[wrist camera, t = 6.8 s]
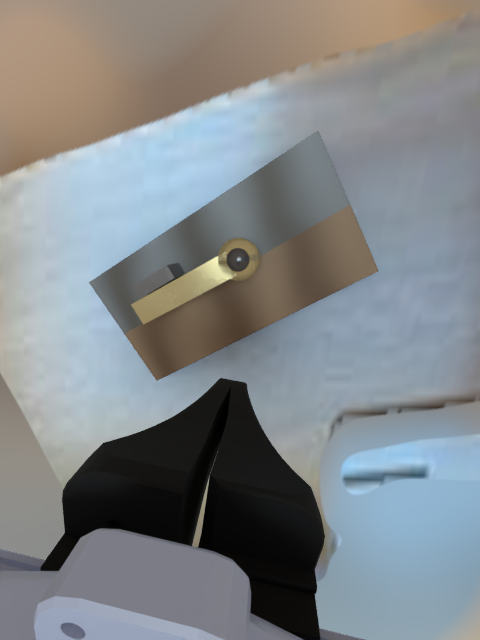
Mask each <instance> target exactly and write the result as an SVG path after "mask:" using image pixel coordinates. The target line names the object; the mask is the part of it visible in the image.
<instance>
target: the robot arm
mask: <svg viewBox="0 0 480 640" xmlns="http://www.w3.org/2000/svg"><path fill="white" fill-rule="evenodd" d="M217 452H218V453H217ZM216 455H217V456H216ZM215 458H216V459H215ZM214 461H215V462H214ZM213 464H214V465H213ZM212 466H213V468H212ZM211 469H212V471H211ZM210 472H211V473H210ZM209 475H210V479H209V486H208V493H207V500H206V506H205V513H204V520H203V527H202V534H201V538H200V542H199V546H198V548H197V547H193V546H192V543H193V539H194V535H195V530H196V526H197V522H198V518H199V514H200V509H201V505H202V501H203V497H204V493H205V489H206V485H207V482H208V478H209ZM62 503H63V514H64V525H65V534H64V535H63V536H62V538H61V539H60V541H59V542H58V543H57V545H56V546H55V548H54V549H53V551H52V552H51V553H50V555H49V556H48V557H47V559H46V560H42V559H38V558H34V557H31V556H27V555H23V554H19V553H15V552H11V551H7V550H2V549H0V640H364V639H359V638H356V637H352V636H348V635H344V634H340V633H335V632H332V631H328V630H324V629H320V628H319V625H318V616H317V609H316V602H315V594H316V591H317V583H316V576H315V567H316V565H317V562H318V559H319V556H320V553H321V551H322V548H323V544H324V538H325V535H324V529H323V524H322V519H321V515H320V512H319V509H318V506H317V503H316V500H315V497H314V494H313V491H312V489H311V487H310V486H309V485H308V484H307V483H306V482H305V481H304V480H303V479H302V478H301V477H300V476H298V475H297V474H296V473H295V472H294V471H293V470H292V469H291V468H290V466H289V465H288V464H287V463H286V462H285V461H284V460H283V459H282V457H281V456H280V455H279V453H278V452H277V451H276V450H275V448H274V447H273V446H272V444H271V443H270V441H269V439H268V438H267V436H266V435H265V433H264V431H263V429H262V428H261V426H260V424H259V422H258V419H257V417H256V415H255V413H254V410H253V407H252V405H251V402H250V399H249V395H248V390H247V384H246V383H244V382H239V381H233V380H228V379H223V378H221V379H219V380H218V381H217V382H216V383H215V384H214V385H213V386H212V387H211V388H210V389H209V390H208V391H207V392H206V393H205V394H204V395H203V396H201V397H200V398H199V399H198V400H197V401H195V402H194V403H193V404H191V405H190V406H189V407H187V408H186V409H184V410H183V411H181V412H180V413H178V414H177V415H175V416H173V417H172V418H170V419H168V420H166V421H164V422H162V423H160V424H158V425H156V426H153V427H151V428H149V429H146V430H144V431H141V432H138V433H135V434H133V435H130V436H126V437H123V438H119V439H116V440H113V441H109V442H105V443H103V444H102V445H101V446H100V447H99V448H98V449H97V450H96V451H95V452H94V453H93V454H92V455H91V456H90V457H89V458H88V459H87V460H86V461H85V462H84V464H83V465H82V466H81V467H80V468H79V469H78V471H77V472H76V473H75V474H74V475H73V476H72V478H71V479H70V480H69V481H68V482H67V484H66V486H65V488H64V490H63V497H62Z"/></svg>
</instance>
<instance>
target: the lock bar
mask: <svg viewBox="0 0 480 640" xmlns="http://www.w3.org/2000/svg"><path fill="white" fill-rule="evenodd" d="M260 259H261V256H260V252H259V249H258V247H257V246H256V245H255V244H254V243H253V242H251V241H249V240H246V239H244V238H233V239H230V240H228V241H227V242H226V243H224V244H223V246H222V247H221V249H220V251H219V254H218V256H217V257H215V258H213V259H212V260H210V261H208V262H206V263H204V264H203V265H201V266H199V267H197V268H196V269H194V270H192V271H190V272H188V273H187V274H185V275H183V276H181V277H179V278H178V279H176V280H174V281H172V282H170V283H169V284H167V285H165V286H163V287H162V288H160V289H158V290H156V291H154V292H153V293H151V294H149V295H147V296H145V297H144V298H142V299H140V300H138V301H136V302H135V303H133V304H131V306H132V307H133V309H134V310H135V312H136V314H137V315H138V317H139V318H140V320H141V322H142V323H143V325H144V324H146V323H148V322H149V321H151V320H153V319H155V318H157V317H159V316H161V315H163V314H165V313H166V312H168V311H170V310H172V309H174V308H176V307H178V306H180V305H182V304H184V303H185V302H187V301H189V300H191V299H193V298H195V297H197V296H199V295H201V294H202V293H204V292H206V291H208V290H210V289H212V288H214V287H216V286H218V285H219V284H221V283H223V282H225V281H227V280H229V279H232V280H235V281H242V280H246V279H248V278H250V277H251V276H252V275H253V274H254V273H255V272H256V270H257V268H258V266H259V264H260Z"/></svg>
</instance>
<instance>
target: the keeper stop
mask: <svg viewBox="0 0 480 640" xmlns="http://www.w3.org/2000/svg"><path fill="white" fill-rule="evenodd" d="M183 275H185V272H184V271H183V269H182V267H181V266H180V264H179V263H176V264H170V265H166V266H164V267H163V268H161V269H159V270H158V271H156V272H155V273H153V274H151V275H150V276H148V277H147V278H145V279H143V280H142V281H140V282H139V283H137V284H135V285H134V286H133V288H134V289H135V291H136V292H137V294H138V295H139V297H140V298H143V297H145V296H147V295H149V294H151V293H153V292H154V291H156V290H158V289H160V288H162V287H163V286H165V285H167V284H169V283H170V282H172V281H174V280H176V279H178V278H179V277H181V276H183Z"/></svg>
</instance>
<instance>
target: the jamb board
mask: <svg viewBox="0 0 480 640" xmlns="http://www.w3.org/2000/svg"><path fill="white" fill-rule="evenodd" d="M233 238H244V239H246V240H249V241H251V242H253V243H254V244H255V245H256V246H257V247H258V249H259V252H260V256H261V259H260V264H259V266H258V268H257V270H256V272H255V273H254V274H253V275H252V276H251V277H250V278H248V279H246V280H242V281H235V280H232V279H229V280H227V281H225V282H223V283H221V284H219V285H218V286H216V287H214V288H212V289H210V290H208V291H206V292H204V293H202V294H201V295H199V296H197V297H195V298H193V299H191V300H189V301H187V302H185V303H184V304H182V305H180V306H178V307H176V308H174V309H172V310H170V311H168V312H166V313H165V314H163V315H161V316H159V317H157V318H155V319H153V320H151V321H149V322H148V323H146V324H144V325H143V323H142V322H141V320H140V318H139V317H138V315H137V314H136V312H135V310H134V309H133V307H132V306H131V304H133V303H135V302H136V301H138V300H140V299H142V298H140V297H139V295H138V294H137V292H136V291H135V289H134V288H133V286H134V285H135V284H137V283H139V282H140V281H142V280H143V279H145V278H147V277H148V276H150V275H151V274H153V273H155V272H156V271H158V270H159V269H161V268H163V267H164V266H166V265H170V264H176V263H179V264H180V266H181V267H182V269H183V271H184V272H185V274H187V273H188V272H190V271H192V270H194V269H196V268H197V267H199V266H201V265H203V264H204V263H206V262H208V261H210V260H212V259H213V258H215V257H217V256H218V254H219V251H220V249H221V247H222V246H223V244H224V243H226V242H227V241H228V240H230V239H233ZM377 271H378V269H377V266H376V264H375V262H374V259H373V257H372V255H371V252H370V250H369V248H368V245H367V243H366V241H365V238H364V236H363V234H362V231H361V229H360V227H359V224H358V222H357V220H356V217H355V215H354V213H353V210H352V208H351V206H350V203H349V201H348V199H347V196H346V194H345V192H344V189H343V187H342V185H341V182H340V180H339V178H338V175H337V173H336V171H335V168H334V166H333V164H332V161H331V159H330V157H329V154H328V152H327V150H326V147H325V145H324V143H323V140H322V138H321V136H320V134H319V131H317V132H315V133H314V134H312V135H311V136H309V137H308V138H306V139H305V140H303V141H302V142H300V143H299V144H297V145H296V146H294V147H293V148H291V149H290V150H288V151H287V152H285V153H284V154H282V155H281V156H279V157H278V158H276V159H275V160H273V161H272V162H270V163H268V164H267V165H265V166H264V167H262V168H261V169H259V170H258V171H256V172H255V173H253V174H252V175H250V176H249V177H247V178H246V179H244V180H243V181H241V182H240V183H238V184H237V185H235V186H234V187H232V188H231V189H229V190H228V191H226V192H225V193H223V194H222V195H220V196H219V197H217V198H216V199H214V200H213V201H211V202H210V203H208V204H207V205H205V206H204V207H202V208H201V209H199V210H198V211H196V212H195V213H193V214H192V215H190V216H189V217H187V218H186V219H184V220H183V221H181V222H180V223H178V224H177V225H175V226H174V227H172V228H171V229H169V230H168V231H166V232H165V233H163V234H162V235H160V236H159V237H157V238H155V239H154V240H152V241H151V242H149V243H148V244H146V245H145V246H143V247H142V248H140V249H139V250H137V251H136V252H134V253H133V254H131V255H130V256H128V257H127V258H125V259H124V260H122V261H121V262H119V263H118V264H116V265H115V266H113V267H112V268H110V269H109V270H107V271H106V272H104V273H103V274H101V275H100V276H98V277H97V278H95V279H94V280H92V281H91V282H89V283H90V284H91V286H92V287H93V289H94V290H95V292H96V293H97V295H98V296H99V298H100V299H101V300H102V302H103V303H104V305H105V306H106V308H107V309H108V311H109V312H110V314H111V315H112V316H113V318H114V319H115V321H116V322H117V324H118V325H119V327H120V328H121V329H122V331H123V332H124V334H125V335H126V337H127V338H128V340H129V341H130V343H131V344H132V345H133V347H134V348H135V350H136V351H137V353H138V354H139V356H140V357H141V358H142V360H143V361H144V363H145V364H146V366H147V367H148V369H149V370H150V372H151V373H152V374H153V376H154V377H155V379H156V380H159V379H161V378H163V377H165V376H167V375H169V374H171V373H173V372H175V371H177V370H179V369H181V368H183V367H185V366H188V365H190V364H192V363H194V362H196V361H198V360H200V359H202V358H204V357H206V356H208V355H210V354H212V353H214V352H216V351H218V350H220V349H222V348H224V347H226V346H228V345H230V344H232V343H234V342H236V341H238V340H240V339H242V338H244V337H246V336H248V335H250V334H252V333H254V332H256V331H258V330H260V329H262V328H264V327H266V326H268V325H270V324H272V323H274V322H276V321H278V320H280V319H282V318H284V317H286V316H288V315H290V314H292V313H294V312H297V311H299V310H301V309H303V308H305V307H307V306H309V305H311V304H313V303H315V302H317V301H319V300H321V299H323V298H325V297H327V296H329V295H331V294H333V293H335V292H337V291H339V290H341V289H343V288H345V287H347V286H349V285H351V284H353V283H355V282H357V281H359V280H361V279H363V278H365V277H367V276H369V275H371V274H373V273H375V272H377ZM143 298H144V297H143Z"/></svg>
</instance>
